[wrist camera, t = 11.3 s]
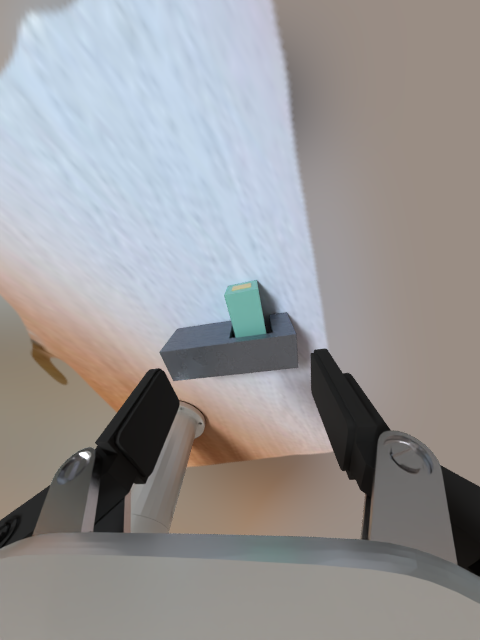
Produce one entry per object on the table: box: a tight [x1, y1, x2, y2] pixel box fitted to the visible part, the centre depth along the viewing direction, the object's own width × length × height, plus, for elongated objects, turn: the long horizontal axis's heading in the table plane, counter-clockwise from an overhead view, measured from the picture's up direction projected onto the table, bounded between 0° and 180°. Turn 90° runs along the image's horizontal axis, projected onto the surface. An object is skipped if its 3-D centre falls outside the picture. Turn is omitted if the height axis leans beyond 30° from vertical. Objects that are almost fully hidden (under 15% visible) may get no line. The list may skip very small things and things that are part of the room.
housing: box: [159, 312, 298, 381], centre depth 25 cm, size 5×17×6 cm, turn 101°
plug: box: [224, 280, 267, 338], centre depth 24 cm, size 11×4×4 cm, turn 13°
